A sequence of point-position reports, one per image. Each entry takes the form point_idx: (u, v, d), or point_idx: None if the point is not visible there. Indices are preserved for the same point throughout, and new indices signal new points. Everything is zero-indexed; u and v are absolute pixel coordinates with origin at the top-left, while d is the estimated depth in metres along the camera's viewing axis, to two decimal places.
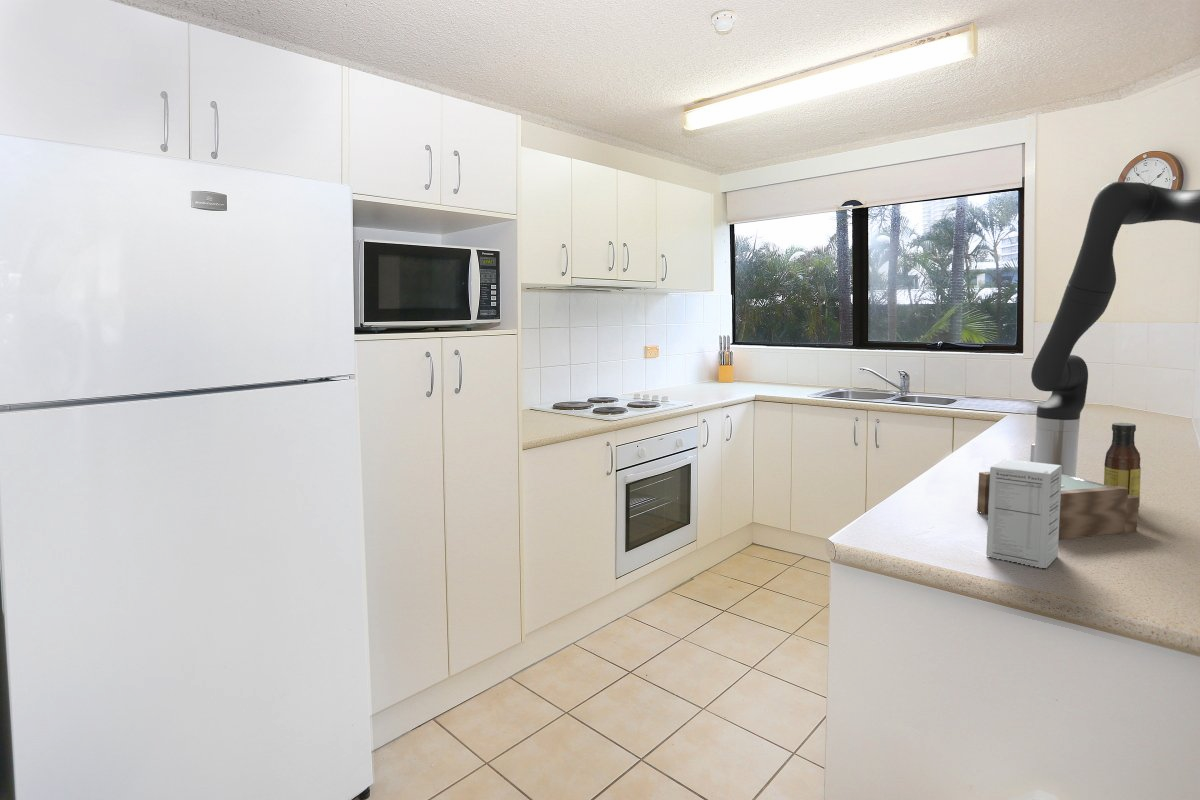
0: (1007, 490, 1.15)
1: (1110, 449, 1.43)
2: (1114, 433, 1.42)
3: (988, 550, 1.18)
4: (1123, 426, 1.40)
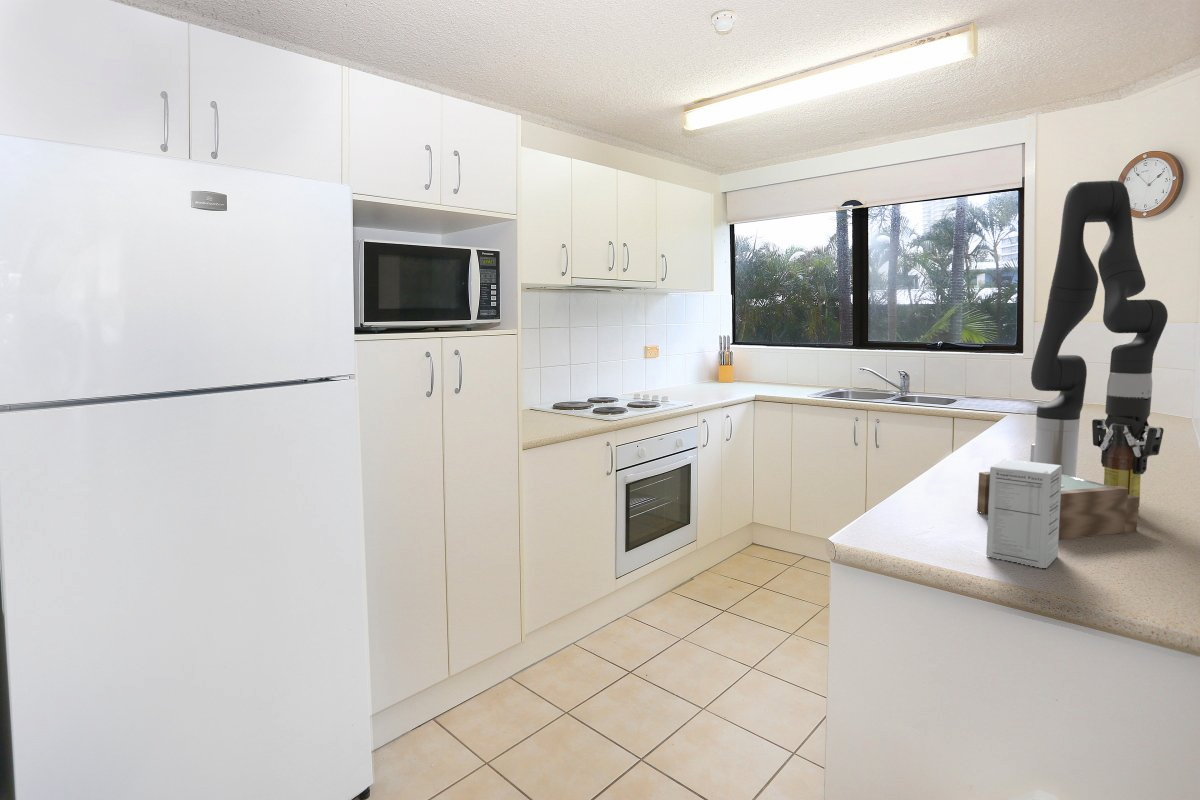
0: (1007, 490, 1.15)
1: (1110, 449, 1.43)
2: (1114, 433, 1.42)
3: (988, 550, 1.18)
4: (1123, 426, 1.40)
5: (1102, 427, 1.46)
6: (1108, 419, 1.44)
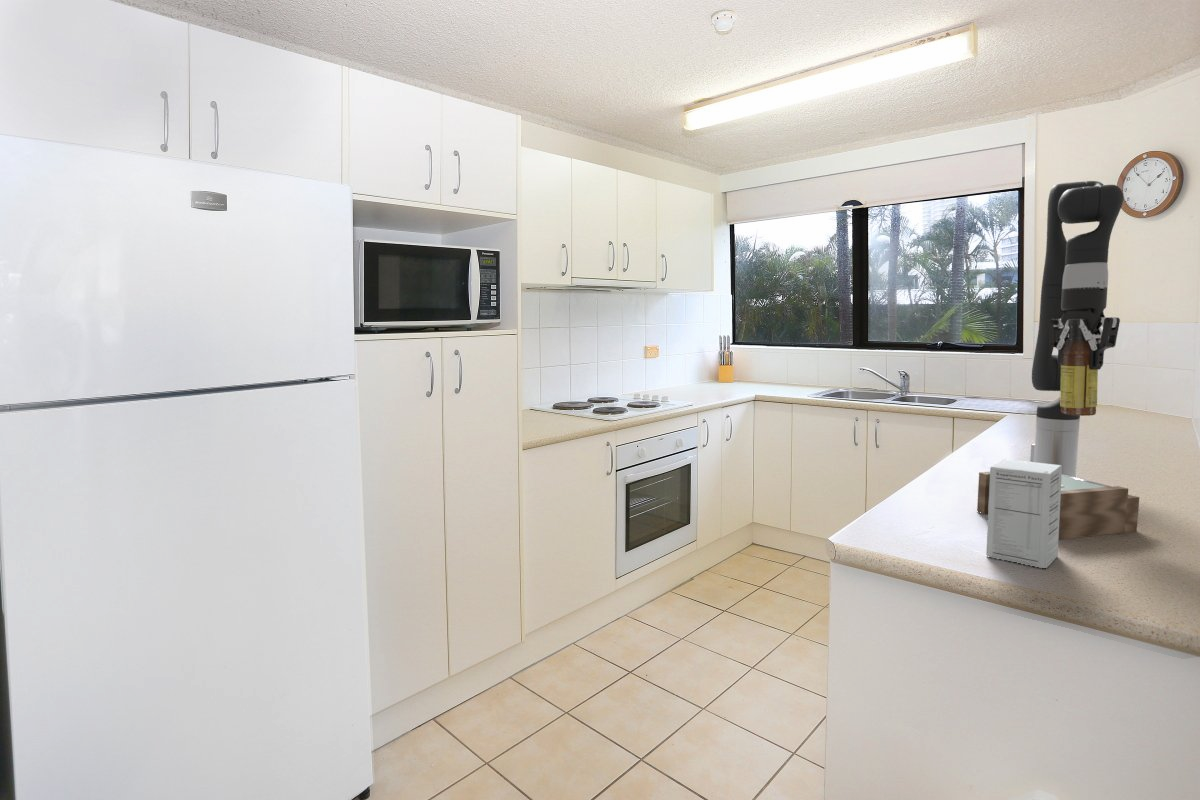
0: (1007, 490, 1.15)
1: (1066, 346, 1.36)
2: (1070, 329, 1.36)
3: (988, 550, 1.18)
4: (1079, 320, 1.34)
5: (1058, 326, 1.40)
6: (1064, 316, 1.38)
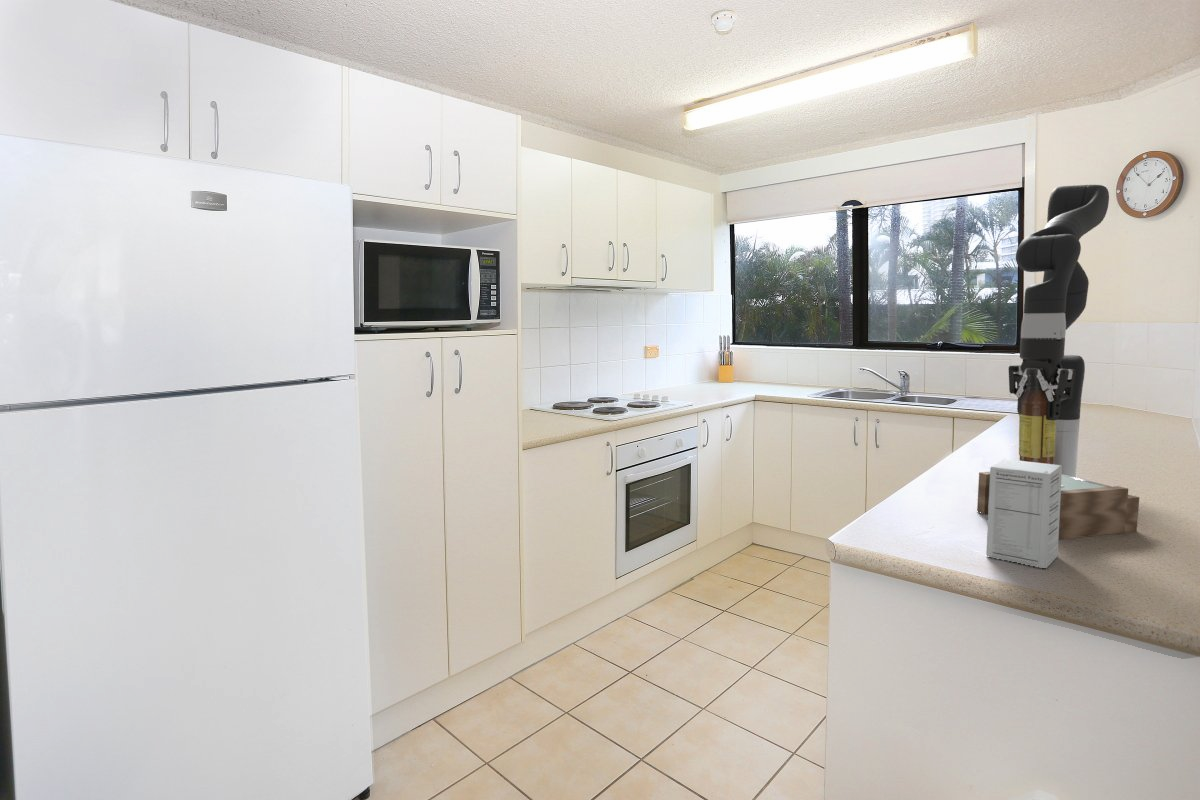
0: (1007, 490, 1.15)
1: (1024, 395, 1.35)
2: (1028, 378, 1.35)
3: (988, 550, 1.18)
4: (1036, 370, 1.33)
5: (1018, 373, 1.39)
6: (1023, 364, 1.37)
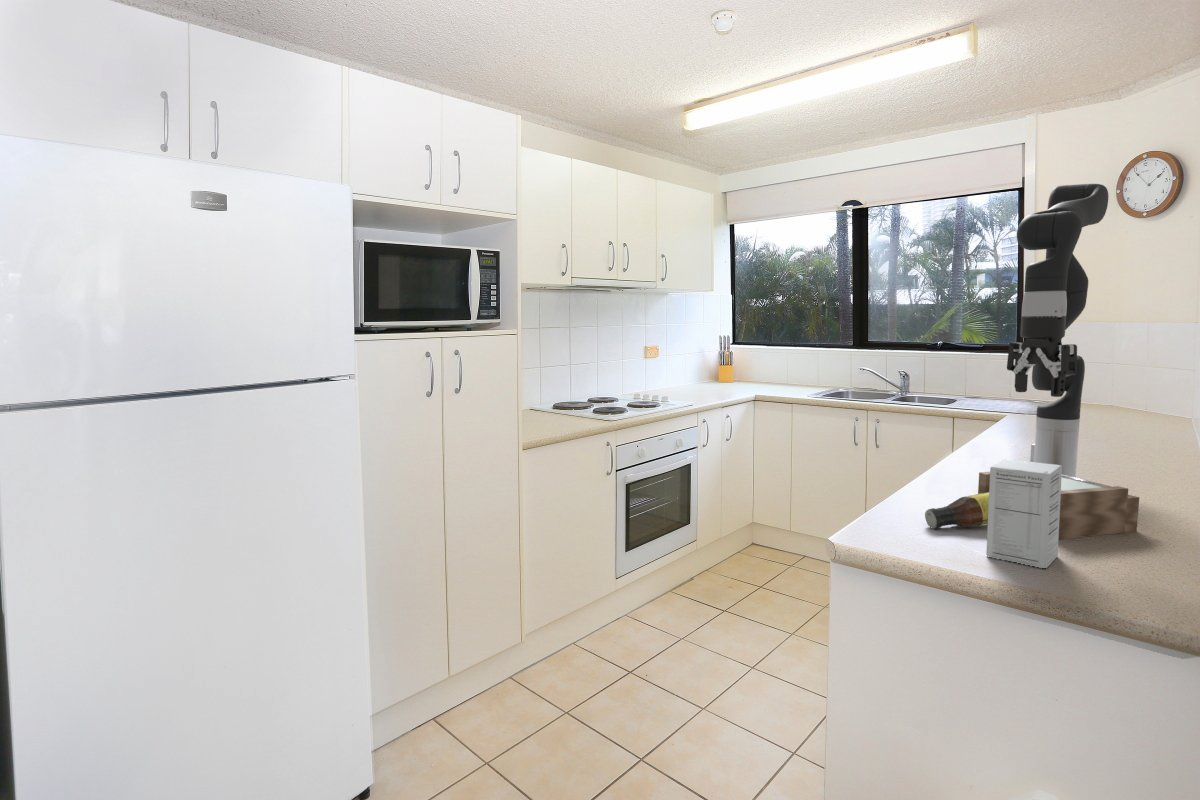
0: (1007, 490, 1.15)
1: None
2: None
3: (988, 550, 1.18)
4: (935, 527, 1.34)
5: (1018, 351, 1.39)
6: (1024, 343, 1.36)
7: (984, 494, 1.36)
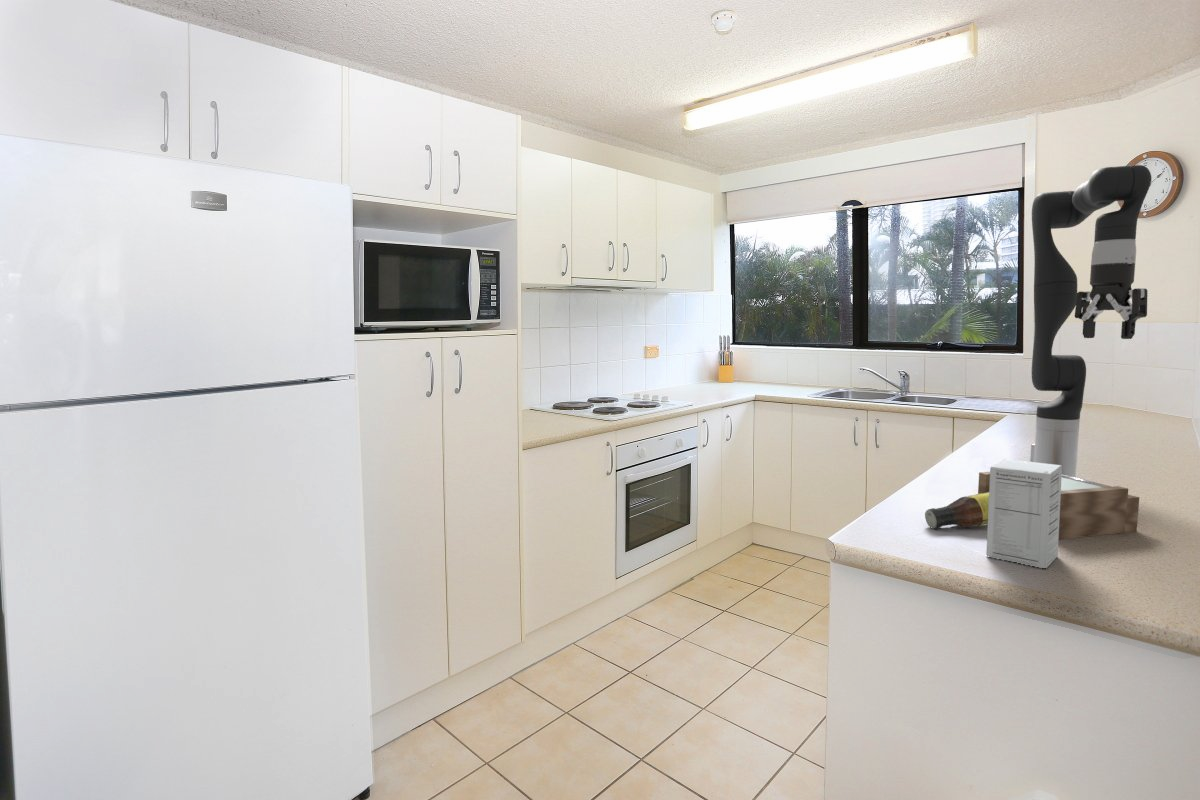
0: (1007, 490, 1.15)
1: None
2: None
3: (988, 550, 1.18)
4: (935, 527, 1.34)
5: (1086, 299, 1.47)
6: (1093, 291, 1.44)
7: (984, 494, 1.36)
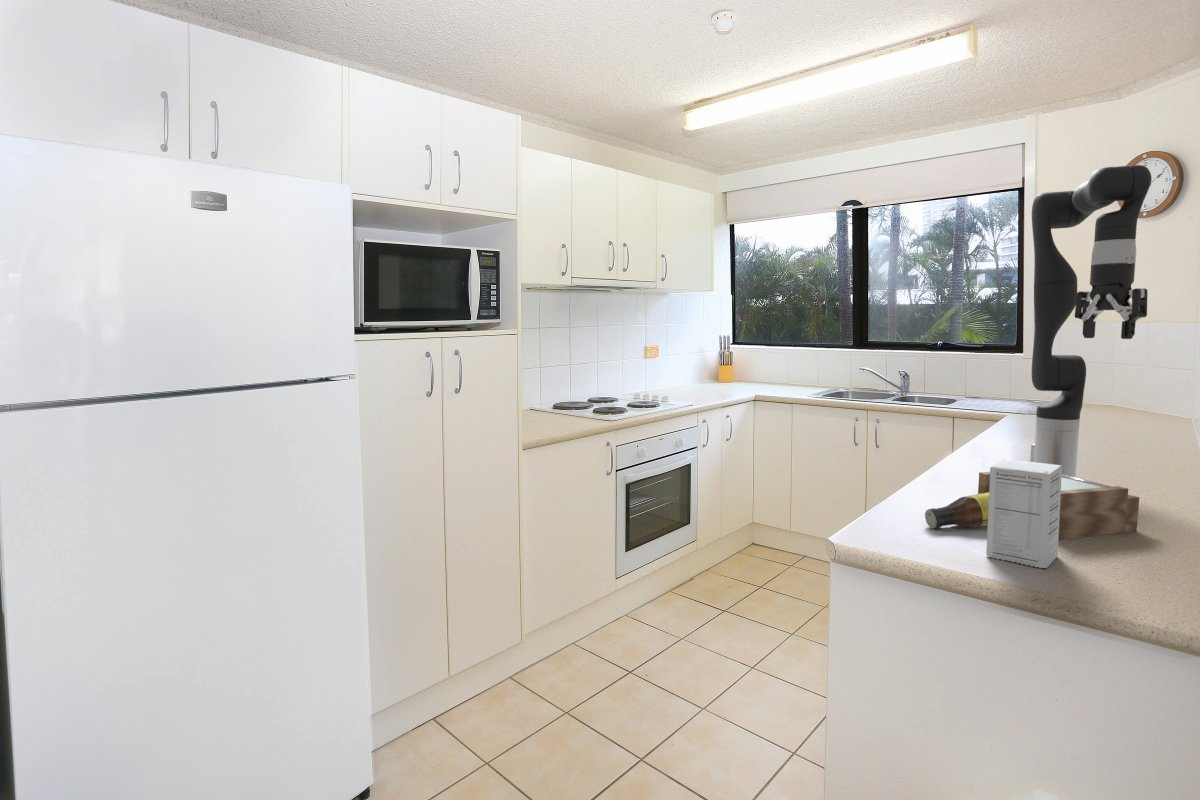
0: (1007, 490, 1.15)
1: None
2: None
3: (988, 550, 1.18)
4: (935, 527, 1.34)
5: (1086, 299, 1.47)
6: (1093, 291, 1.44)
7: (984, 494, 1.36)
